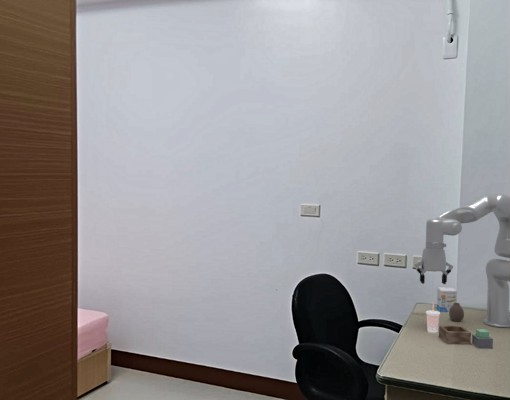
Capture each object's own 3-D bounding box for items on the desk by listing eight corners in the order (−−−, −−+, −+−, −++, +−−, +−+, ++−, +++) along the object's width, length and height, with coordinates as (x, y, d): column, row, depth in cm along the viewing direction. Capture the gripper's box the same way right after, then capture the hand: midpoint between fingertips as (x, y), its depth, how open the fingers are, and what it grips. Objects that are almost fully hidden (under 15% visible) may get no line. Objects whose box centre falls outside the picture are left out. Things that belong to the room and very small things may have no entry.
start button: (484, 341, 211) (485, 329, 210) (488, 344, 207) (489, 332, 207) (475, 340, 211) (476, 329, 210) (479, 343, 207) (480, 331, 207)
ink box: (439, 311, 265) (440, 290, 264) (436, 307, 273) (437, 286, 273) (456, 312, 263) (457, 290, 263) (453, 308, 272) (453, 287, 271)
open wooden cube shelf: (461, 337, 221) (461, 325, 221) (470, 344, 211) (470, 332, 211) (438, 336, 221) (438, 325, 221) (446, 343, 211) (447, 332, 211)
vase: (465, 323, 244) (465, 305, 243) (450, 322, 245) (450, 304, 245) (462, 319, 250) (462, 302, 250) (447, 318, 252) (448, 301, 251)
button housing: (486, 343, 212) (486, 334, 212) (492, 348, 206) (492, 338, 206) (472, 343, 212) (472, 334, 212) (478, 348, 206) (478, 338, 206)
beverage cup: (438, 334, 225) (438, 303, 224) (424, 331, 228) (424, 301, 228) (441, 330, 230) (441, 300, 230) (427, 328, 233) (428, 299, 233)
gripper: (450, 245, 231) (449, 282, 232) (412, 244, 232) (411, 281, 232) (456, 247, 224) (455, 285, 224) (417, 246, 224) (416, 284, 225)
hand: (433, 283), depth 228 cm, fingers open, 9 cm apart
